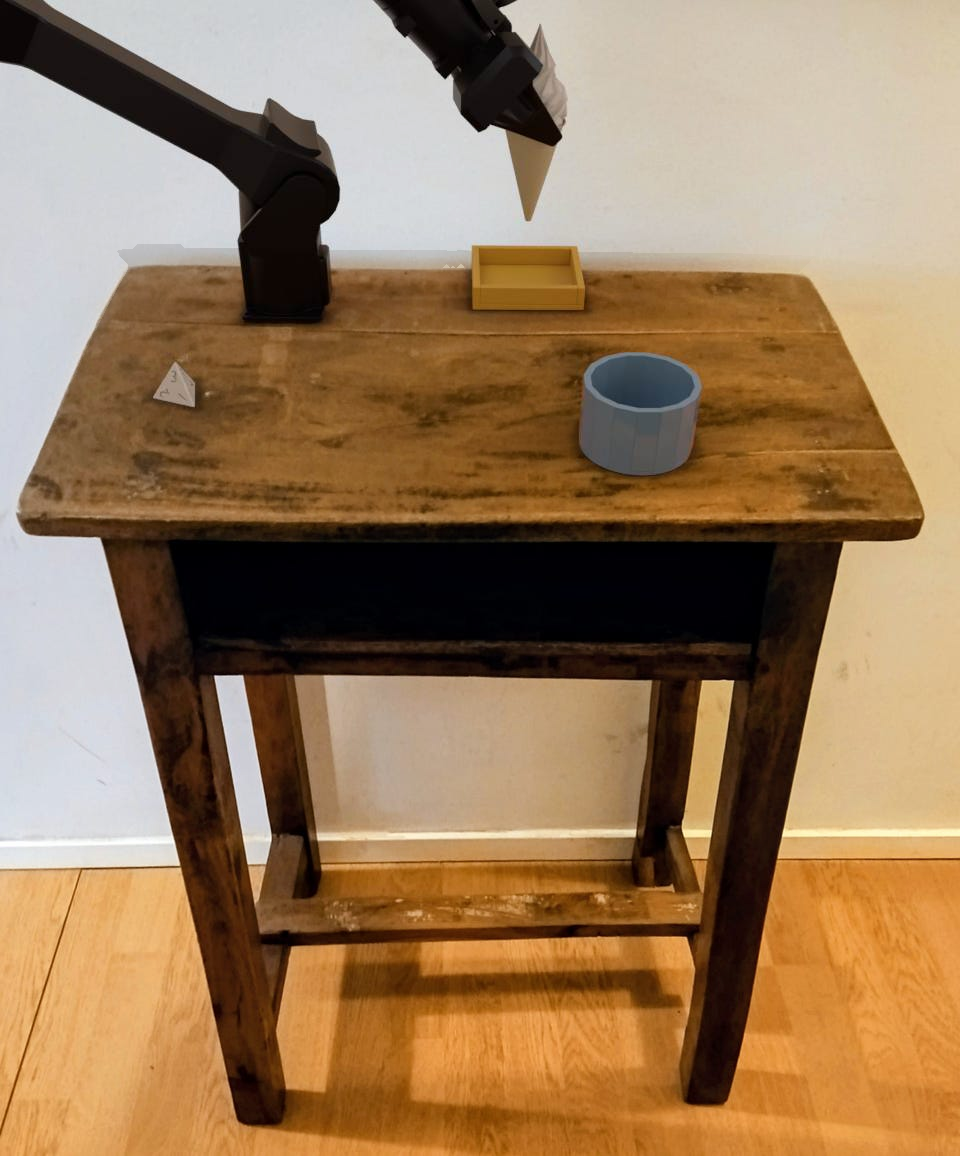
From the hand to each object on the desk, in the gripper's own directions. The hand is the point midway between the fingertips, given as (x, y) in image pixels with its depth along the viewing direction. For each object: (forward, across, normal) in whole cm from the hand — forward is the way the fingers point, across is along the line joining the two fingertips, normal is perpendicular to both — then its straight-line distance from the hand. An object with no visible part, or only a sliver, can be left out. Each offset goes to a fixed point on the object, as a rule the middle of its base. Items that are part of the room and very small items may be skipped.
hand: (550, 129), depth 90 cm
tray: (+9, 0, +10) cm, 13 cm away
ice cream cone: (+4, 0, +6) cm, 8 cm away
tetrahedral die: (-11, -13, +31) cm, 35 cm away
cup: (+10, -25, +8) cm, 28 cm away
